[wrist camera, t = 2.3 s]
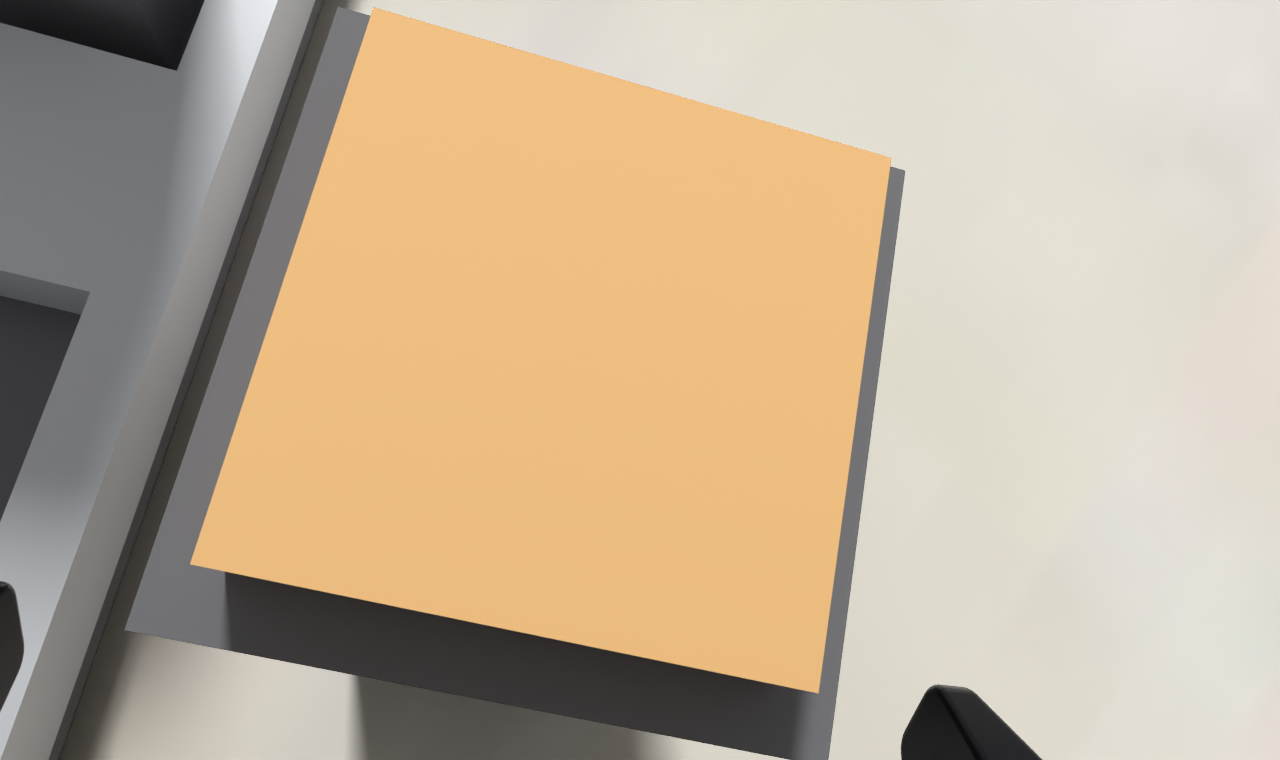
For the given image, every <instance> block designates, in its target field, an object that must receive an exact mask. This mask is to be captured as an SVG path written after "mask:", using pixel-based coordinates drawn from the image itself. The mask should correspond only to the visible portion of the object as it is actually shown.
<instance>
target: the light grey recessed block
mask: <svg viewBox="0 0 1280 760" xmlns="http://www.w3.org/2000/svg"><path fill="white" fill-rule="evenodd" d="M322 3H323V0H198V3H197V5H196V8H195V10H194V13H193V15H192V18H191V20H190V23H189V25H188V28H187V31H186V33H185V36H184V38H183V41H182V43H181V46H180V48H179V51H178V53H177V56H176V58H175V61H174V64H173V66H172V69H168V68H164V67H160V66H157V65H153V64H149V63H146V62H142V61H138V60H135V59H131V58H127V57H124V56H120V55H117V54H113V53H109V52H106V51H102V50H98V49H95V48H91V47H87V46H84V45H80V44H76V43H73V42H69V41H65V40H62V39H58V38H55V37H51V36H47V35H44V34H40V33H36V32H33V31H29V30H25V29H22V28H18V27H14V26H11V25H7V24H3V23H0V581H4V582H6V583H9V584H10V585H11V586H12V587H13V588H14V589H15V592H16V596H17V602H18V608H19V614H20V620H21V626H22V632H23V638H24V656H23V661H22V664H21V667H20V670H19V673H18V675H17V677H16V679H15V681H14V684H13V686H12V688H11V690H10V692H9V695H8V697H7V699H6V701H5V703H4V705H3V708H2V710H1V712H0V760H59V757H60V754H61V751H62V748H63V745H64V743H65V740H66V737H67V734H68V731H69V728H70V725H71V723H72V720H73V717H74V714H75V711H76V708H77V705H78V702H79V700H80V697H81V694H82V691H83V688H84V685H85V682H86V680H87V677H88V674H89V671H90V668H91V665H92V662H93V659H94V657H95V654H96V651H97V648H98V645H99V642H100V639H101V637H102V634H103V631H104V628H105V625H106V622H107V619H108V616H109V614H110V611H111V608H112V605H113V602H114V599H115V596H116V594H117V591H118V588H119V585H120V582H121V579H122V576H123V573H124V571H125V568H126V565H127V562H128V559H129V556H130V553H131V551H132V548H133V545H134V542H135V539H136V536H137V533H138V530H139V528H140V525H141V522H142V519H143V516H144V513H145V510H146V508H147V505H148V502H149V499H150V496H151V493H152V490H153V487H154V485H155V482H156V479H157V476H158V473H159V470H160V467H161V465H162V462H163V459H164V456H165V453H166V450H167V447H168V444H169V442H170V439H171V436H172V433H173V430H174V427H175V424H176V422H177V419H178V416H179V413H180V410H181V407H182V404H183V401H184V399H185V396H186V393H187V390H188V387H189V384H190V381H191V379H192V376H193V373H194V370H195V367H196V364H197V361H198V358H199V356H200V353H201V350H202V347H203V344H204V341H205V338H206V335H207V333H208V330H209V327H210V324H211V321H212V318H213V315H214V313H215V310H216V307H217V304H218V301H219V298H220V295H221V293H222V290H223V287H224V284H225V281H226V278H227V275H228V272H229V270H230V267H231V264H232V261H233V258H234V255H235V252H236V249H237V247H238V244H239V241H240V238H241V235H242V232H243V229H244V227H245V224H246V221H247V218H248V215H249V212H250V209H251V206H252V204H253V201H254V198H255V195H256V192H257V189H258V186H259V184H260V181H261V178H262V175H263V172H264V169H265V166H266V163H267V161H268V158H269V155H270V152H271V149H272V146H273V143H274V141H275V138H276V135H277V132H278V129H279V126H280V123H281V120H282V118H283V115H284V112H285V109H286V106H287V103H288V100H289V98H290V95H291V92H292V89H293V86H294V83H295V80H296V77H297V75H298V72H299V69H300V66H301V63H302V60H303V57H304V55H305V52H306V49H307V46H308V43H309V40H310V37H311V34H312V32H313V29H314V26H315V23H316V20H317V17H318V14H319V12H320V9H321V6H322Z"/></svg>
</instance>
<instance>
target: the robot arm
mask: <svg viewBox="0 0 1280 760" xmlns="http://www.w3.org/2000/svg"><path fill="white" fill-rule="evenodd" d="M23 656H24V638H23V632H22V626H21V620H20V614H19V608H18V602H17V596H16V592H15V589H14V588H13V587H12V586H11V585H10V584H9V583H6V582H4V581H0V712H1V710H2V708H3V705H4V703H5V701H6V699H7V697H8V695H9V692H10V690H11V688H12V686H13V684H14V681H15V679H16V677H17V675H18V673H19V670H20V667H21V664H22V661H23ZM901 758H902V760H1042V759H1041V758H1040V757H1039V756H1038V755H1037V754H1036V753H1035V752H1034V751H1033V750H1032V749H1031V748H1030V747H1029V746H1028V745H1027V744H1026V743H1025V742H1024V741H1023V740H1022V739H1021V738H1020V737H1019V736H1018V735H1017V734H1016V733H1015V732H1014V731H1013V730H1012V729H1011V728H1010V727H1009V726H1008V725H1007V724H1006V723H1005V722H1004V721H1003V720H1002V719H1001V718H1000V717H999V716H998V715H997V714H996V713H995V712H994V711H993V710H992V709H991V708H990V707H989V706H988V705H987V704H986V703H985V702H984V701H983V700H982V699H981V698H980V697H979V696H978V695H977V694H976V693H974V692H973V691H972V690H970V689H968V688H965V687H957V686H948V685H939V684H938V685H933V686H932V687H930V688H929V689H928V690H927V691H926V692H925V694H924V696H923V698H922V700H921V702H920V703H919V705H918V707H917V709H916V711H915V713H914V715H913V716H912V718H911V720H910V722H909V724H908V726H907V728H906V729H905V732H904V734H903V738H902V743H901Z"/></svg>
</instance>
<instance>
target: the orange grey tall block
mask: <svg viewBox="0 0 1280 760" xmlns="http://www.w3.org/2000/svg"><path fill="white" fill-rule="evenodd" d="M890 164H891V158H890V157H886V156H883V155H879V154H876V153H873V152H869V151H866V150H862V149H859V148H855V147H852V146H849V145H845V144H842V143H838V142H835V141H831V140H828V139H824V138H821V137H818V136H814V135H811V134H807V133H804V132H800V131H797V130H794V129H790V128H787V127H783V126H780V125H776V124H773V123H769V122H766V121H763V120H759V119H756V118H752V117H749V116H745V115H742V114H739V113H735V112H732V111H728V110H725V109H721V108H718V107H715V106H711V105H708V104H704V103H701V102H697V101H694V100H690V99H687V98H684V97H680V96H677V95H673V94H670V93H666V92H663V91H660V90H656V89H653V88H649V87H646V86H642V85H639V84H635V83H632V82H629V81H625V80H622V79H618V78H615V77H611V76H608V75H605V74H601V73H598V72H594V71H591V70H587V69H584V68H581V67H577V66H574V65H570V64H567V63H563V62H560V61H556V60H553V59H550V58H546V57H543V56H539V55H536V54H532V53H529V52H526V51H522V50H519V49H515V48H512V47H508V46H505V45H501V44H498V43H495V42H491V41H488V40H484V39H481V38H477V37H474V36H471V35H467V34H464V33H460V32H457V31H453V30H450V29H446V28H443V27H440V26H436V25H433V24H429V23H426V22H422V21H419V20H416V19H412V18H409V17H405V16H402V15H398V14H395V13H392V12H388V11H385V10H381V9H378V8H374V7H373V10H372V14H371V16H369V15H366V14H362V13H359V12H355V11H352V10H348V9H345V8H341V7H338V8H337V11H336V14H335V17H334V19H333V22H332V25H331V28H330V31H329V34H328V37H327V40H326V43H325V46H324V49H323V52H322V54H321V57H320V60H319V63H318V66H317V69H316V72H315V75H314V78H313V81H312V84H311V87H310V89H309V92H308V95H307V98H306V101H305V104H304V107H303V110H302V113H301V116H300V119H299V122H298V125H297V127H296V130H295V133H294V136H293V139H292V142H291V145H290V148H289V151H288V154H287V157H286V160H285V162H284V165H283V168H282V171H281V174H280V177H279V180H278V183H277V186H276V189H275V192H274V195H273V197H272V200H271V203H270V206H269V209H268V212H267V215H266V218H265V221H264V224H263V227H262V230H261V232H260V235H259V238H258V241H257V244H256V247H255V250H254V253H253V256H252V259H251V262H250V265H249V268H248V270H247V273H246V276H245V279H244V282H243V285H242V288H241V291H240V294H239V297H238V300H237V303H236V305H235V308H234V311H233V314H232V317H231V320H230V323H229V326H228V329H227V332H226V335H225V338H224V340H223V343H222V346H221V349H220V352H219V355H218V358H217V361H216V364H215V367H214V370H213V373H212V375H211V378H210V381H209V384H208V387H207V390H206V393H205V396H204V399H203V402H202V405H201V408H200V410H199V413H198V416H197V419H196V422H195V425H194V428H193V431H192V434H191V437H190V440H189V443H188V446H187V448H186V451H185V454H184V457H183V460H182V463H181V466H180V469H179V472H178V475H177V478H176V481H175V483H174V486H173V489H172V492H171V495H170V498H169V501H168V504H167V507H166V510H165V513H164V516H163V518H162V521H161V524H160V527H159V530H158V533H157V536H156V539H155V542H154V545H153V548H152V551H151V553H150V556H149V559H148V562H147V565H146V568H145V571H144V574H143V577H142V580H141V583H140V586H139V589H138V591H137V594H136V597H135V600H134V603H133V606H132V609H131V612H130V615H129V618H128V621H127V624H126V626H125V629H124V630H126V631H131V632H136V633H142V634H147V635H152V636H157V637H162V638H167V639H172V640H178V641H183V642H188V643H193V644H198V645H203V646H208V647H214V648H219V649H224V650H229V651H234V652H239V653H244V654H250V655H255V656H260V657H265V658H270V659H275V660H280V661H285V662H291V663H296V664H301V665H306V666H311V667H316V668H321V669H327V670H332V671H337V672H342V673H347V674H352V675H357V676H363V677H368V678H373V679H378V680H383V681H388V682H393V683H399V684H404V685H409V686H414V687H419V688H424V689H429V690H435V691H440V692H445V693H450V694H455V695H460V696H465V697H471V698H476V699H481V700H486V701H491V702H496V703H501V704H507V705H512V706H517V707H522V708H527V709H532V710H537V711H543V712H548V713H553V714H558V715H563V716H568V717H573V718H579V719H584V720H589V721H594V722H599V723H604V724H609V725H615V726H620V727H625V728H630V729H635V730H640V731H645V732H651V733H656V734H661V735H666V736H671V737H676V738H681V739H687V740H692V741H697V742H702V743H707V744H712V745H717V746H723V747H728V748H733V749H738V750H743V751H748V752H753V753H759V754H764V755H769V756H774V757H779V758H784V759H789V760H828V758H829V750H830V743H831V735H832V727H833V720H834V712H835V704H836V697H837V689H838V681H839V674H840V666H841V658H842V651H843V643H844V635H845V628H846V620H847V613H848V605H849V597H850V590H851V582H852V574H853V567H854V559H855V551H856V544H857V536H858V528H859V521H860V513H861V505H862V498H863V490H864V482H865V475H866V467H867V459H868V452H869V444H870V436H871V429H872V421H873V414H874V406H875V398H876V391H877V383H878V375H879V368H880V360H881V352H882V345H883V337H884V329H885V322H886V314H887V306H888V299H889V291H890V283H891V276H892V268H893V260H894V253H895V245H896V237H897V230H898V222H899V215H900V207H901V199H902V192H903V184H904V176H905V171H904V170H901V169H897V168H894V167H890Z"/></svg>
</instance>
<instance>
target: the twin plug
mask: <svg viewBox="0 0 1280 760" xmlns="http://www.w3.org/2000/svg"><path fill="white" fill-rule="evenodd" d="M197 3H198V0H0V23H3V24H7V25H11V26H14V27H18V28H22V29H25V30H29V31H33V32H36V33H40V34H44V35H47V36H51V37H55V38H58V39H62V40H65V41H69V42H73V43H76V44H80V45H84V46H87V47H91V48H95V49H98V50H102V51H106V52H109V53H113V54H117V55H120V56H124V57H127V58H131V59H135V60H138V61H142V62H146V63H149V64H153V65H157V66H160V67H164V68H168V69H172V66H173V64H174V61H175V58H176V56H177V53H178V51H179V48H180V46H181V43H182V41H183V38H184V36H185V33H186V31H187V28H188V25H189V23H190V20H191V18H192V15H193V13H194V10H195V8H196V5H197Z"/></svg>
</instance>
